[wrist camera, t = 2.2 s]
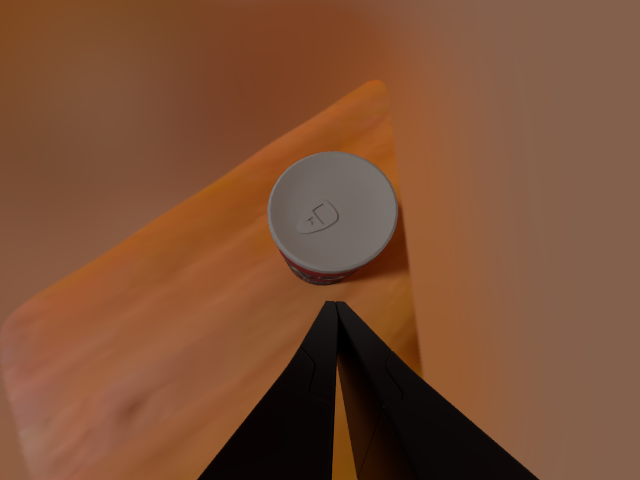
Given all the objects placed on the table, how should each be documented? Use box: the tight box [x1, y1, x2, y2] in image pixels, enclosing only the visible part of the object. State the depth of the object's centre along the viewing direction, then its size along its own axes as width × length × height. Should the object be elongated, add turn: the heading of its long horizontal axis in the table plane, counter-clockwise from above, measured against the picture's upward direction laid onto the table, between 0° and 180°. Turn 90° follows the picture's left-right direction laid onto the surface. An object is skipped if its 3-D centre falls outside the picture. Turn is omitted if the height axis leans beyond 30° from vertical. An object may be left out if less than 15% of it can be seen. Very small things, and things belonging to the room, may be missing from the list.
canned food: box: [267, 151, 398, 286], centre depth 18 cm, size 8×8×11 cm
